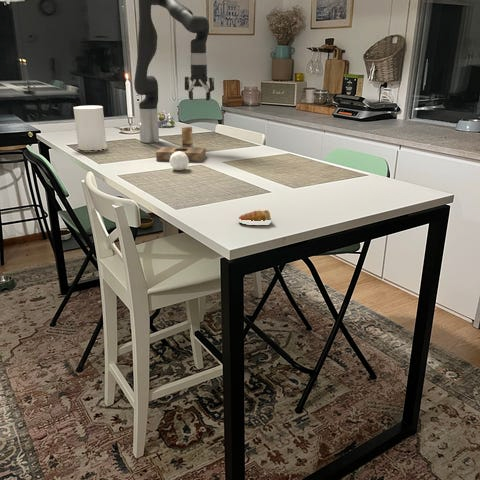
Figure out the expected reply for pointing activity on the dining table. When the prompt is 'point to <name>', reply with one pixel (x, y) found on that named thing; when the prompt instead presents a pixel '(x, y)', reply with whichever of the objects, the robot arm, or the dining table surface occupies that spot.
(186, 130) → the peg
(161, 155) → the board
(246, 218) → the pastry
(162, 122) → the passion flower
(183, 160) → the ball
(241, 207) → the dining table surface
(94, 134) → the canister
